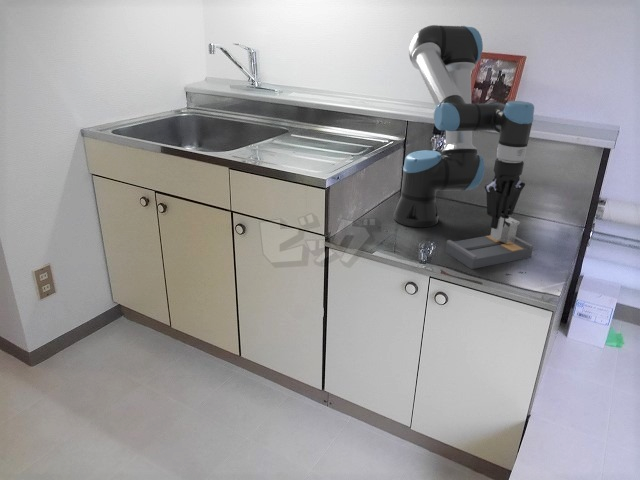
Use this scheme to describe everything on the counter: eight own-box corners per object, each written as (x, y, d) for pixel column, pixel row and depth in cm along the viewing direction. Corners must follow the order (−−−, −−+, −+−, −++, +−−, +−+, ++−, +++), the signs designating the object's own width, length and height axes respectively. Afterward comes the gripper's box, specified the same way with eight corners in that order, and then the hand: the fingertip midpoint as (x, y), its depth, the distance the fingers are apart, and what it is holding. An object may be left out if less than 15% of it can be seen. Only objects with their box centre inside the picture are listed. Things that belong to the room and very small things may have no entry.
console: (445, 252, 154) (446, 240, 152) (502, 241, 162) (504, 230, 161) (471, 269, 144) (473, 256, 142) (530, 257, 152) (533, 245, 151)
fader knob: (495, 239, 155) (499, 217, 152) (504, 237, 156) (508, 215, 154) (506, 244, 151) (510, 222, 148) (515, 243, 153) (520, 221, 150)
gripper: (501, 164, 136) (486, 245, 146) (537, 161, 141) (521, 239, 151) (482, 157, 143) (469, 236, 152) (518, 154, 148) (503, 230, 157)
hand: (495, 237), depth 151 cm, fingers closed
